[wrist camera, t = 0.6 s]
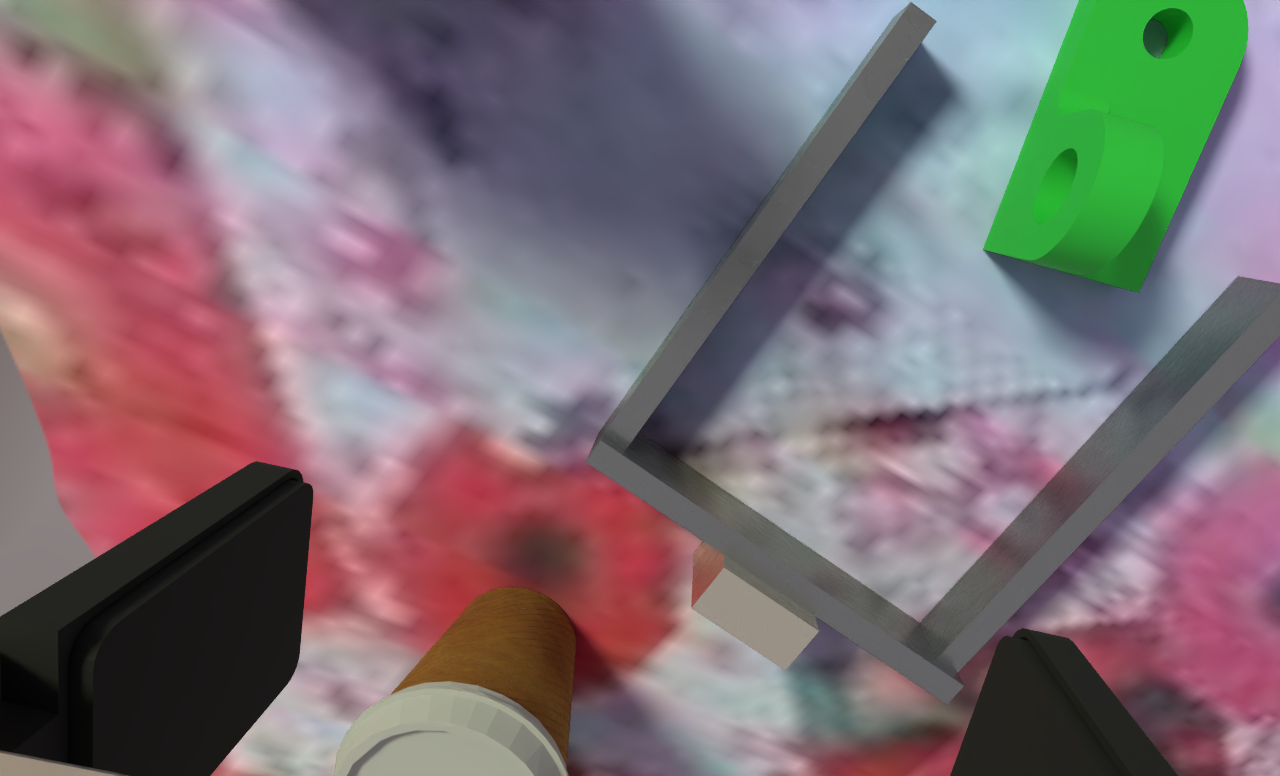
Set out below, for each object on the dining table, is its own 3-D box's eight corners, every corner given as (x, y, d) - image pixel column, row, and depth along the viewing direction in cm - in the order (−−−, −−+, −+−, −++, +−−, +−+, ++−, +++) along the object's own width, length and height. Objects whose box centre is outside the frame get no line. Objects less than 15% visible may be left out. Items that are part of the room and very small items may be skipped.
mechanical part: (1114, 286, 34) (1231, 316, 27) (981, 248, 34) (1058, 267, 27) (1242, -6, 31) (1416, -69, 23) (1094, -46, 31) (1220, -122, 24)
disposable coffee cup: (417, 558, 40) (299, 709, 29) (600, 556, 39) (555, 711, 28) (439, 718, 43) (338, 917, 31) (613, 719, 42) (576, 925, 30)
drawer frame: (892, 18, 32) (926, -13, 27) (1259, 292, 34) (1356, 311, 29) (571, 471, 38) (550, 514, 33) (892, 686, 40) (918, 758, 35)
